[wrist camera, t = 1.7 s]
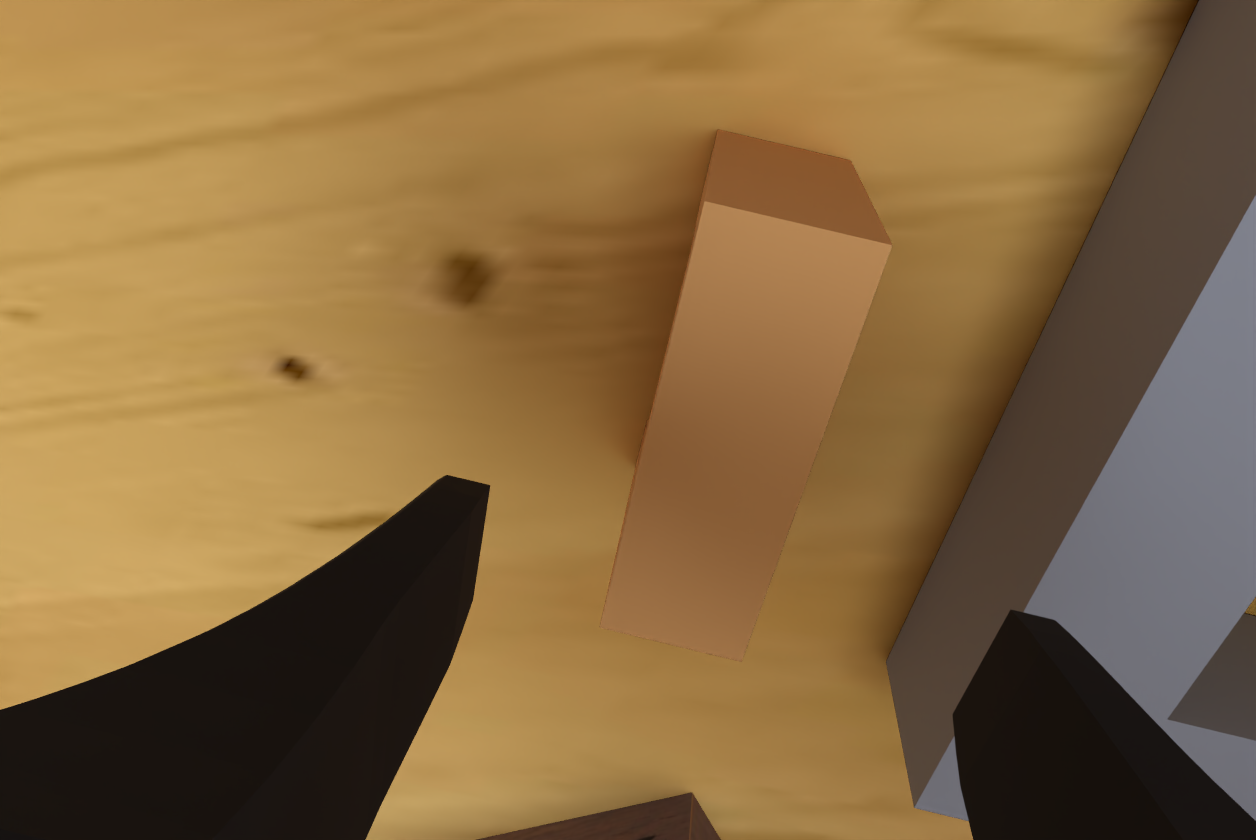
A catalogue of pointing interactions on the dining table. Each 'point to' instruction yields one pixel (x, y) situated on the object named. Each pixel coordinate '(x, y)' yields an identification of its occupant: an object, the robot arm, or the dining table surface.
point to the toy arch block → (744, 390)
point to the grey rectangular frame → (1126, 449)
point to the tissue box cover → (629, 824)
